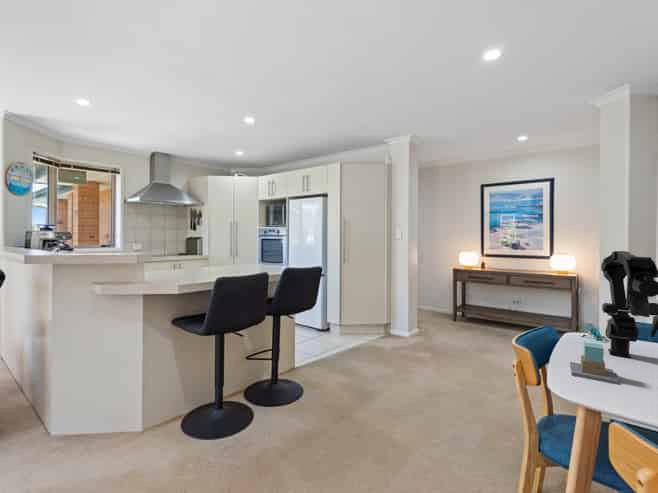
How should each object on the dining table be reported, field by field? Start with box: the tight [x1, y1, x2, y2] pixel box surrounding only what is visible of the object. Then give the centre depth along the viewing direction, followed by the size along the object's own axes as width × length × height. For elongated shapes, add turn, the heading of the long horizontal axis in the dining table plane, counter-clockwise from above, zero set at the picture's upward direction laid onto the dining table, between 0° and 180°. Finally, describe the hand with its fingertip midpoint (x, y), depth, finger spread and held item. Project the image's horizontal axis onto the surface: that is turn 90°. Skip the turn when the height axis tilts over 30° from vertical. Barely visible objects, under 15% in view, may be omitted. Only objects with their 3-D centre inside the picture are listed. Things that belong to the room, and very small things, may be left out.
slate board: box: [569, 361, 618, 385], centre depth 117 cm, size 11×12×1 cm
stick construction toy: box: [581, 323, 603, 341], centre depth 157 cm, size 12×7×8 cm
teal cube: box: [582, 341, 605, 363], centre depth 117 cm, size 5×5×5 cm
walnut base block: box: [580, 354, 606, 376], centre depth 117 cm, size 6×6×4 cm
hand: (635, 334), depth 122 cm, fingers open, 9 cm apart
